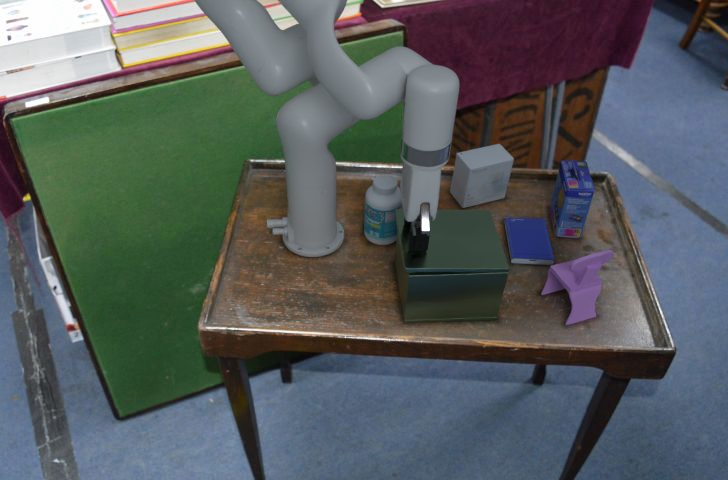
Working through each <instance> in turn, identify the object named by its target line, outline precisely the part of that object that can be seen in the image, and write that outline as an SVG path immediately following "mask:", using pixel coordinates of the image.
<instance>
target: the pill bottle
mask: <svg viewBox="0 0 728 480" xmlns="http://www.w3.org/2000/svg"><path fill="white" fill-rule="evenodd" d="M398 182H399V181H398V180H397V178H396V177H395V175H394V176H393V175H391V174H388V173H387V174H386V173H383V174H378V175H376V176H375V177H374V178H373V180H372V185H370V186H369V187H368V188H367V189H366V192H365V194H364V195H365V196H364V216H363V217H364V218H363V219H364V220H363V221H364V222H363V234H364V237H365V238H366V240H368V241H369V242H370V243H372V244H375V245H378V246H388V245H392V244H394V243H395V242H397V231H398V229H397V223H396V217H395V209H403V206H402V200H401V194H400V186H398Z"/></svg>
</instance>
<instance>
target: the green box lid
mask: <svg viewBox="0 0 728 480" xmlns="http://www.w3.org/2000/svg"><path fill="white" fill-rule="evenodd" d="M418 216H420V213H419V215H418ZM395 217H396V223H397V229H398V235H399V241H400V247H401V253H402V259H403V264H404V270H405V272H508V273H510V266H509V264H508V263H509V262H508V260H507V257H506V254H505V252H504V248H503V246H502V241H501V240H500V236H499V234H498V231H497V227H496V224H495V221H494V218H493V215H492V212H491V210H490V209H437V214H436V218H435V219H434V220H433V221H431V220H430V237H429V244H428V250H427V251H409V238H410V232H411V231H412V222H411V225H405V224H404V212H403V209H395ZM420 226H421V221H417V227H416V228H418V227H420Z"/></svg>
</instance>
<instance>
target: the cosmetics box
mask: <svg viewBox="0 0 728 480" xmlns="http://www.w3.org/2000/svg"><path fill="white" fill-rule="evenodd" d="M514 161H515V158H514V157H513V156H512V155H511V154H510V153H509V152H508V150H507V149H506V148H504V146H503V145H502V144H501V143H496V144H491V145H486V146H482V147H477V148H473V149H467V150H463V151H459V152H456V154H455V161H454V166H453V172H452V178H451V183H450V188H449V193H450V195H451V196H452V197H453V199H454V200H455V201H456V202H457V203H458V205H459V206H460V208H462V209H465V208H470V207H473V206H477V205H482V204H486V203H489V202H494V201H498V200H503V199H505V198H506V193H507V190H508V186H509V182H510V178H511V173H512V169H513V166H514Z"/></svg>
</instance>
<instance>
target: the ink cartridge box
mask: <svg viewBox="0 0 728 480" xmlns="http://www.w3.org/2000/svg"><path fill="white" fill-rule="evenodd" d="M595 191H596V188H595V185H594V180H593V179H592V176H591V172H590V169H589V165H588V162H587V161H585V160H573V159H572V158H571V160H560V163H559V168H558V172H557V176H556V180H555V184H554V187H553V192H552V196H551V198H550V202H549V207H548V208H549V214H550V219H551V224H552V227H553V228H552V230H553V234H554V237H558V238H569V239H581V238H582V237H583V233H584V229H585V226H586V222H587V219H588V216H589V212H590V209H591V206H592V202H593V198H594V196H595Z"/></svg>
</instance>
